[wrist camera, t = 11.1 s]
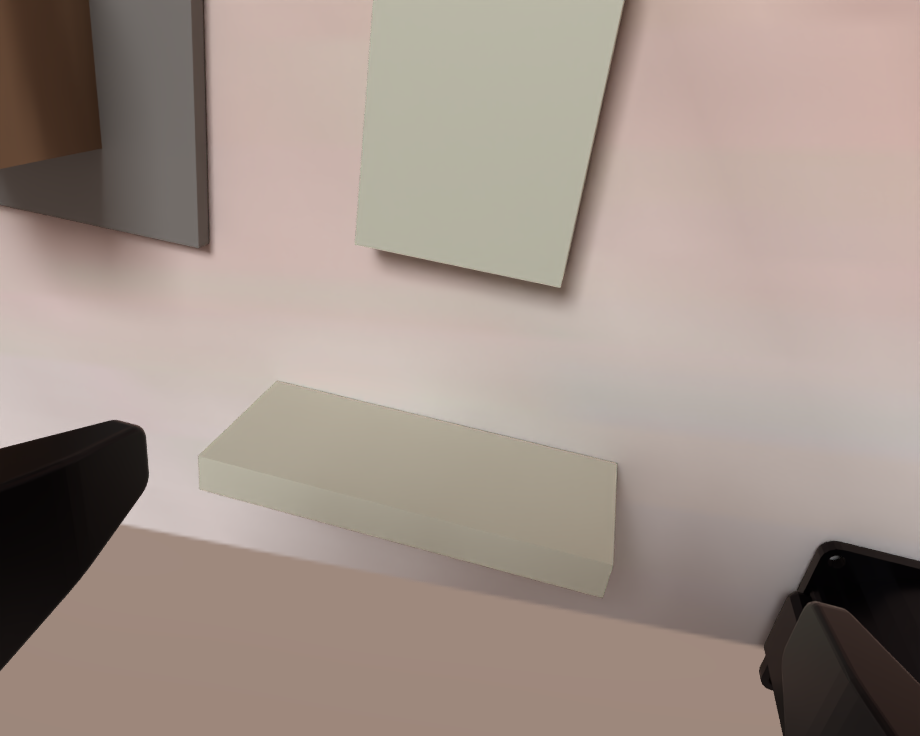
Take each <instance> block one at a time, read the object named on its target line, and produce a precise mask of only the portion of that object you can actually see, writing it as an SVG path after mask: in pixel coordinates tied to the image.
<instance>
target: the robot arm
mask: <svg viewBox="0 0 920 736" xmlns="http://www.w3.org/2000/svg"><path fill="white" fill-rule="evenodd" d="M148 478H149V468H148V456H147V444H146V435H145V432H144V430H143V429H142V428H141V427H140V426H138V425H134V424H131V423H127V422H123V421H119V420H111V421H107V422H103V423H99V424H95V425H91V426H87V427H83V428H79V429H75V430H71V431H67V432H63V433H59V434H56V435H52V436H48V437H44V438H40V439H36V440H32V441H28V442H24V443H20V444H16V445H12V446H8V447H4V448H1V449H0V671H1V670H2V668H3V667H4V666H5V665H6V664H7V663H8V662H9V660H10V659H11V658H12V657H13V656H14V655H15V654H16V653H17V651H18V650H19V649H20V648H21V647H22V646H23V645H24V643H25V642H26V641H27V640H28V639H29V638H30V637H31V635H32V634H33V633H34V632H35V631H36V630H37V629H38V627H39V626H40V625H41V624H42V623H43V622H44V621H45V619H46V618H47V617H48V616H49V615H50V614H51V613H52V611H53V610H54V609H55V608H56V607H57V605H59V603H60V602H61V601H62V600H63V599H64V598H65V597H66V595H67V594H68V593H69V592H70V591H71V590H72V588H73V587H74V586H75V585H76V584H77V582H78V581H79V580H80V579H81V577H82V576H83V575H84V574H85V572H86V571H87V570H88V568H89V567H90V566H91V564H92V563H93V562H94V560H95V559H96V558H97V556H98V555H99V553H100V552H101V551H102V549H103V548H104V546H105V545H106V544H107V542H108V541H109V539H110V538H111V536H112V535H113V534H114V532H115V531H116V530H117V528H118V527H119V525H120V524H121V523H122V521H123V520H124V518H125V517H126V516H127V514H128V513H129V511H130V510H131V509H132V507H133V506H134V504H135V503H136V502H137V500H138V499H139V497H140V496H141V495H142V493H143V491H144V490H145V488H146V486H147V482H148ZM835 555H836V556H841V557H840V558H839V559H837V560H830V558H831V557H832V556H835ZM764 650H765V654H766V656H765V658H764V660H763V662H762V664H761V666H760V670H759V673H760V679H761V682H762V684H763V685H764V686H765V687H766V688H768V689H770V690H773V691H774V696H775V701H776V705H777V709H778V714H779V719H780V724H781V728H782V732H783V736H920V561H916V560H912V559H908V558H904V557H900V556H896V555H892V554H888V553H884V552H880V551H876V550H872V549H868V548H863V547H859V546H855V545H851V544H847V543H843V542H838V541H830V542H826V543H824V544H822V545H821V546H820V547H819V548H818V550H817V552H816V554H815V556H814V558H813V560H812V562H811V564H810V566H809V568H808V570H807V572H806V574H805V576H804V578H803V580H802V582H801V584H800V586H799V588H798V590H797V591H795V592H793V593H792V594H790V595H789V596H788V597H787V599H786V601H785V603H784V605H783V607H782V610H781V612H780V614H779V616H778V618H777V620H776V622H775V624H774V626H773V628H772V630H771V632H770V634H769V636H768V639H767V641H766V643H765V645H764Z"/></svg>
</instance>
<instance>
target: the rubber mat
mask: <svg viewBox="0 0 920 736" xmlns="http://www.w3.org/2000/svg"><path fill="white" fill-rule="evenodd" d="M89 8H90V19H91V30H92V41H93V52H94V63H95V75H96V86H97V97H98V108H99V119H100V130H101V142H102V149H97V150H92V151H87V152H82V153H77V154H72V155H67V156H62V157H57V158H52V159H47V160H42V161H37V162H32V163H27V164H22V165H17V166H12V167H7V168H2V169H0V205H3V206H8V207H12V208H17V209H21V210H26V211H31V212H35V213H40V214H44V215H49V216H53V217H58V218H63V219H67V220H72V221H76V222H81V223H85V224H90V225H95V226H99V227H104V228H108V229H113V230H118V231H122V232H127V233H131V234H136V235H140V236H145V237H150V238H154V239H159V240H163V241H168V242H173V243H177V244H182V245H186V246H191V247H195V248H200V247H202V246H204V245H206V244H209V231H208V190H207V149H206V108H205V67H204V26H203V0H89Z"/></svg>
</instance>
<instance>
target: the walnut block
mask: <svg viewBox="0 0 920 736" xmlns="http://www.w3.org/2000/svg"><path fill="white" fill-rule="evenodd" d="M97 149H102V142H101V130H100V119H99V108H98V97H97V86H96V75H95V63H94V52H93V41H92V30H91V19H90V8H89V0H0V169H2V168H7V167H12V166H17V165H22V164H27V163H32V162H37V161H42V160H47V159H52V158H57V157H62V156H67V155H72V154H77V153H82V152H87V151H92V150H97Z"/></svg>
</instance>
